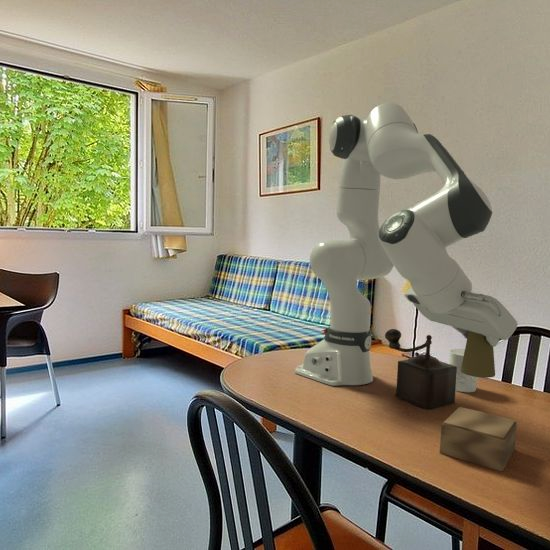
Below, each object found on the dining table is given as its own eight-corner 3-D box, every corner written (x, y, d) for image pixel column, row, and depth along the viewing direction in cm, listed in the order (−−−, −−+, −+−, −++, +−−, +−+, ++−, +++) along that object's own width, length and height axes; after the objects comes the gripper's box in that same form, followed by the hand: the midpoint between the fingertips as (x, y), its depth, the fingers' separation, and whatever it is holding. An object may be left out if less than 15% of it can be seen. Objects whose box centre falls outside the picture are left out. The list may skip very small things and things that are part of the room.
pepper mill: (420, 389, 126) (424, 323, 125) (456, 403, 117) (460, 331, 115) (378, 399, 118) (381, 328, 117) (412, 414, 109) (416, 337, 107)
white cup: (459, 382, 134) (461, 347, 133) (484, 390, 127) (487, 354, 126) (441, 386, 130) (443, 350, 129) (466, 395, 123) (469, 357, 122)
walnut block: (439, 452, 90) (441, 422, 90) (456, 433, 99) (458, 405, 98) (502, 471, 84) (504, 438, 83) (514, 449, 92) (517, 419, 92)
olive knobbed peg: (502, 376, 87) (506, 317, 86) (474, 378, 86) (478, 318, 85) (480, 367, 93) (484, 312, 92) (453, 369, 92) (457, 312, 91)
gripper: (501, 282, 76) (541, 339, 80) (418, 272, 95) (454, 318, 99) (478, 311, 74) (519, 367, 79) (398, 294, 93) (435, 340, 98)
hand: (482, 340), depth 89 cm, fingers closed on olive knobbed peg, 4 cm apart
